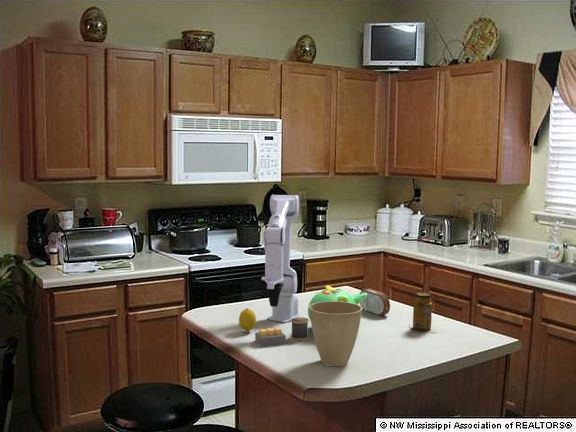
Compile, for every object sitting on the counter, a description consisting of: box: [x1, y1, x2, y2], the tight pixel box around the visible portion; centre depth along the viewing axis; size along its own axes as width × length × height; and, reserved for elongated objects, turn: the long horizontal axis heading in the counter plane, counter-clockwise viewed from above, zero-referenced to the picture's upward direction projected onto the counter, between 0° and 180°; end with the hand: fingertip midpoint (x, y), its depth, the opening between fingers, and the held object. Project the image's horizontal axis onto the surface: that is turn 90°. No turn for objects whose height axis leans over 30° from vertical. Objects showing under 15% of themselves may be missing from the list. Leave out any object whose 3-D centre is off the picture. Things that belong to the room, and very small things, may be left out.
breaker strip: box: [254, 326, 287, 348], centre depth 192 cm, size 8×6×4 cm
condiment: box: [408, 292, 437, 334], centre depth 206 cm, size 7×8×12 cm
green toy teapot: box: [307, 285, 367, 322], centre depth 204 cm, size 18×17×15 cm
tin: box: [359, 288, 391, 317], centre depth 227 cm, size 15×3×8 cm, turn 33°
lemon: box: [238, 307, 257, 333], centre depth 202 cm, size 6×6×8 cm
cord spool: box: [290, 316, 310, 342], centre depth 196 cm, size 6×6×6 cm
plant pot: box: [308, 301, 363, 367], centre depth 174 cm, size 15×15×16 cm
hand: (274, 306), depth 198 cm, fingers closed
